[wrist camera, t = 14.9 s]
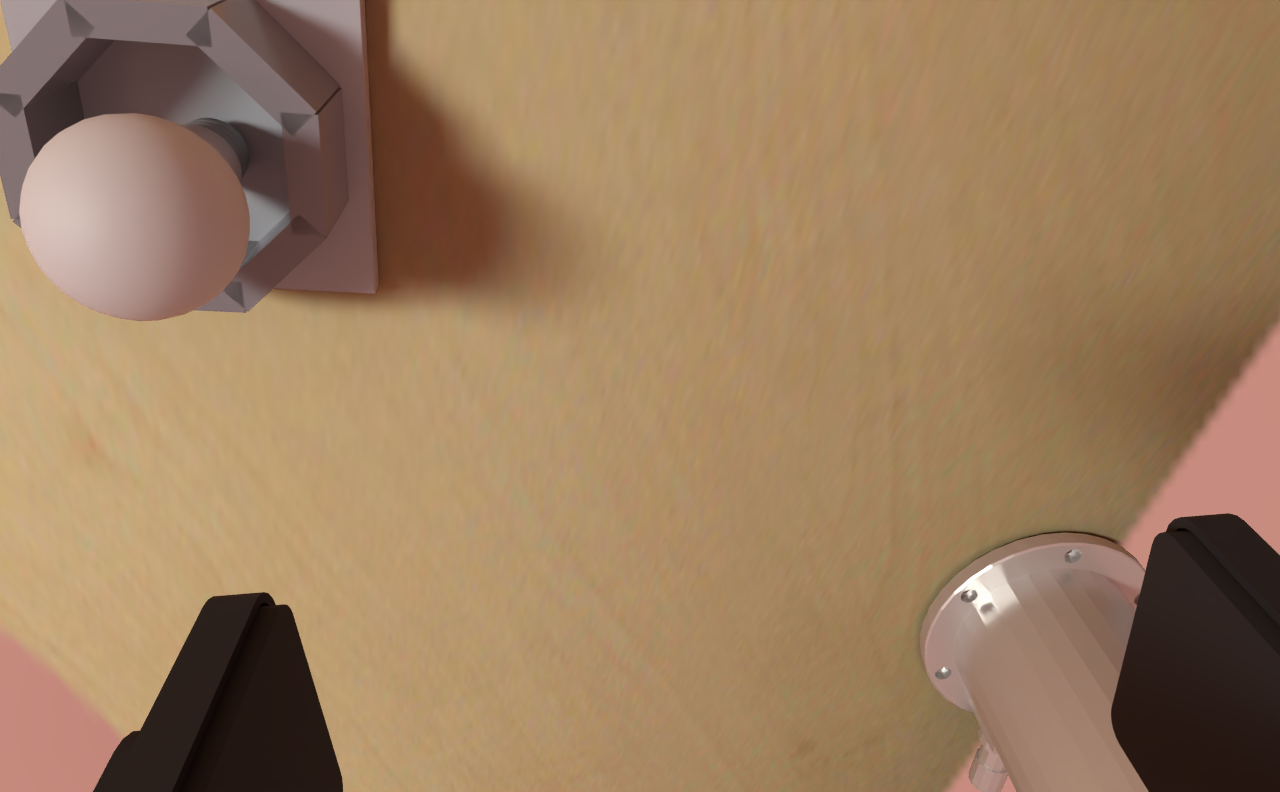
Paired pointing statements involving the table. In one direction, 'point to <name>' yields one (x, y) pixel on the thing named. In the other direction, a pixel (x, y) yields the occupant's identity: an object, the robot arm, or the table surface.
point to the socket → (218, 114)
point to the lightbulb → (139, 213)
